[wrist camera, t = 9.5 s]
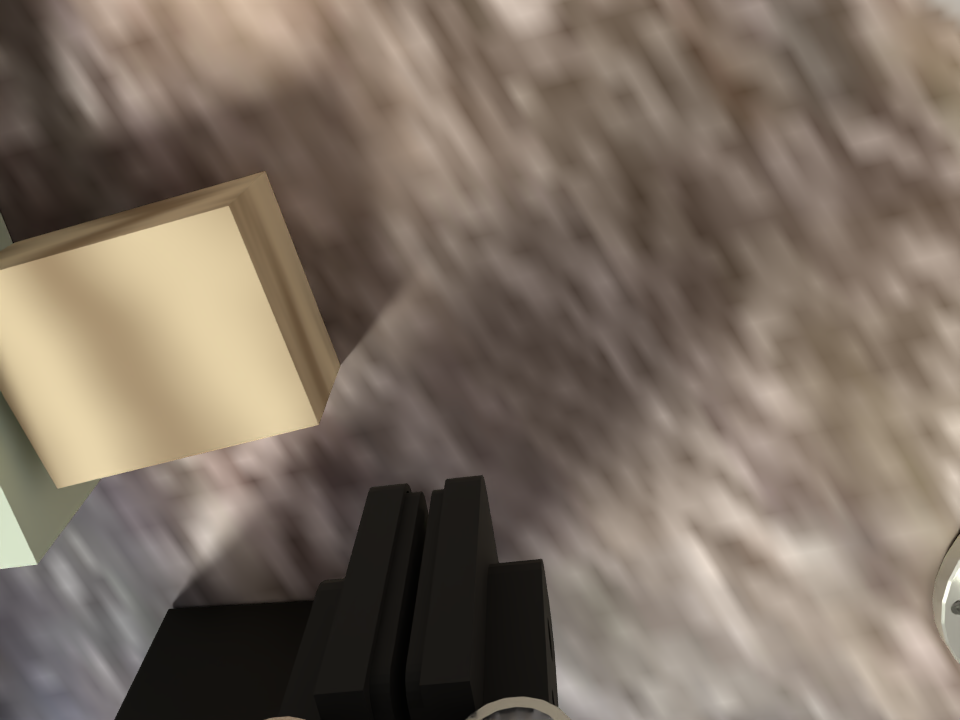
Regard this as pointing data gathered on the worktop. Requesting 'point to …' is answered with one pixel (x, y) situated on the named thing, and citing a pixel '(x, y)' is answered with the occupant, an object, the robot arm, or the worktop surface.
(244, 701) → the tall black block
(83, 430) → the maple block
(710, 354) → the worktop surface
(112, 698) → the worktop surface
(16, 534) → the board
